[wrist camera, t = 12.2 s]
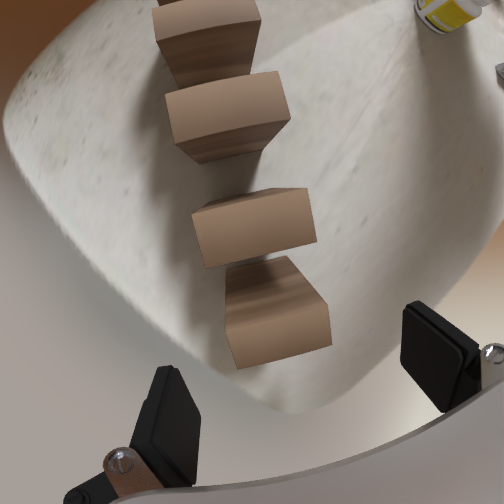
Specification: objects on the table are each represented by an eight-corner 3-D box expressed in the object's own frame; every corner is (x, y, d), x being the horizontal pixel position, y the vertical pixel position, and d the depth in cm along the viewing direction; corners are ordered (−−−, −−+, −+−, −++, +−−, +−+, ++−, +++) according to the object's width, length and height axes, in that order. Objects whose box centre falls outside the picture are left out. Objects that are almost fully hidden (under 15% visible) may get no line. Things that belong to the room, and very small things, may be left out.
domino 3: (208, 202, 21) (191, 214, 11) (271, 188, 21) (307, 188, 12) (215, 232, 22) (205, 268, 12) (277, 217, 22) (317, 241, 12)
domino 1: (180, 75, 19) (151, 8, 9) (240, 62, 19) (250, -11, 9) (185, 100, 19) (156, 41, 9) (247, 86, 19) (261, 19, 10)
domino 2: (192, 135, 20) (164, 94, 10) (256, 121, 20) (277, 70, 10) (199, 164, 20) (174, 143, 11) (262, 149, 21) (291, 119, 11)
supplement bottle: (453, 36, 18) (503, 13, 9) (428, 34, 18) (481, 4, 9) (432, 2, 17) (476, -26, 7) (405, -2, 17) (450, -38, 8)
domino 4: (225, 269, 22) (225, 330, 13) (286, 255, 23) (327, 304, 13) (233, 296, 23) (237, 369, 13) (291, 282, 23) (332, 344, 13)
